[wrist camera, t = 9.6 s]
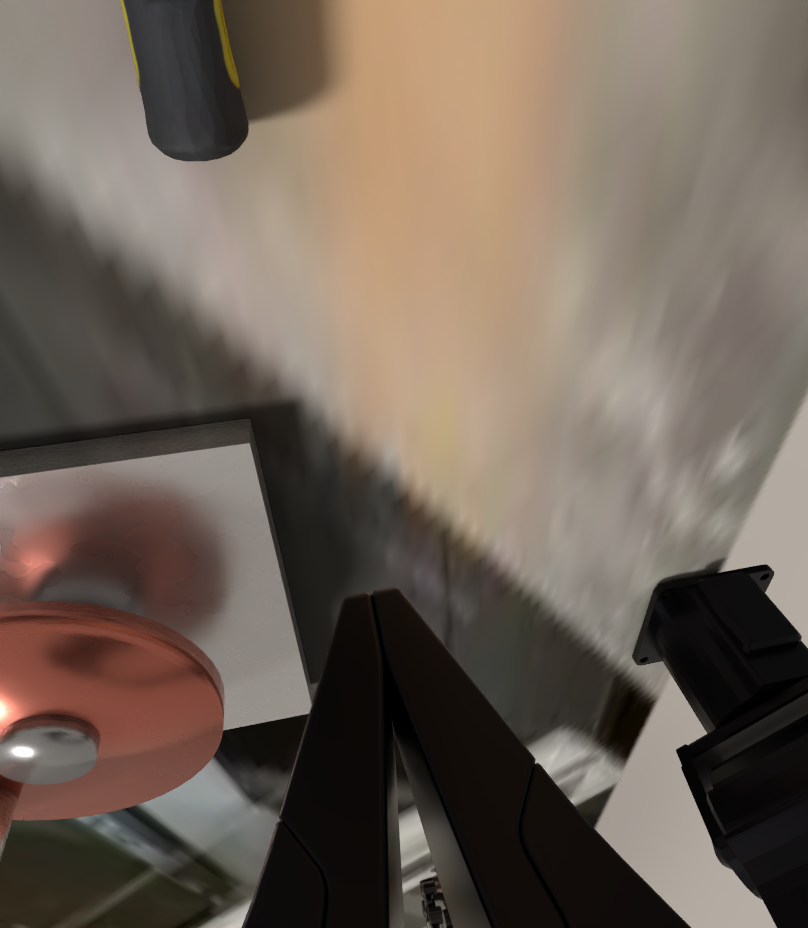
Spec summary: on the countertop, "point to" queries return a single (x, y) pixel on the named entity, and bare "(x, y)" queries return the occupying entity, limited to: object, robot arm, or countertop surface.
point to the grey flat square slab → (163, 549)
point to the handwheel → (98, 710)
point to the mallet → (186, 77)
